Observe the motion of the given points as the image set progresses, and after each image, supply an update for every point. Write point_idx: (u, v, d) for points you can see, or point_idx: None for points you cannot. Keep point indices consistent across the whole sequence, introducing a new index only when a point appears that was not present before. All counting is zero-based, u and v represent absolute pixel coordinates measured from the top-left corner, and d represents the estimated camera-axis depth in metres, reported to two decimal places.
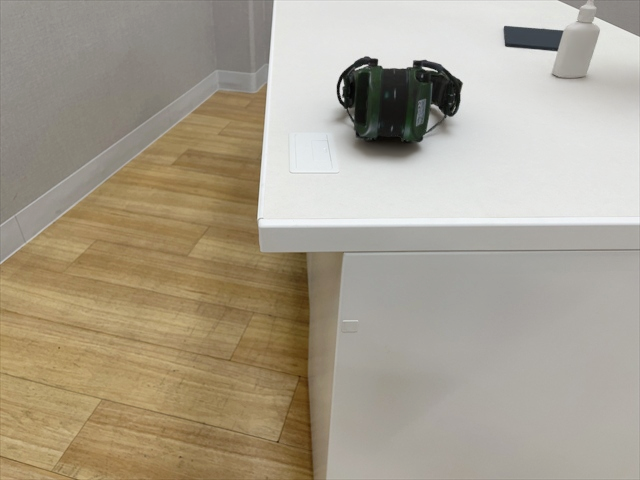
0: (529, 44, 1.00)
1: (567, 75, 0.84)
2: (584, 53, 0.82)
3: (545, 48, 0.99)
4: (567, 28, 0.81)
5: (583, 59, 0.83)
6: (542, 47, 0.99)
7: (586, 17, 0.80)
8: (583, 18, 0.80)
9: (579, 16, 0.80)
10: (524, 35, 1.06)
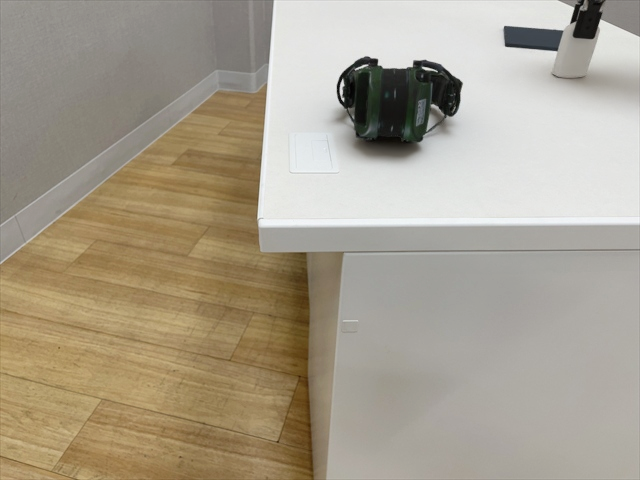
0: (529, 44, 1.00)
1: (567, 75, 0.84)
2: (584, 53, 0.82)
3: (545, 48, 0.99)
4: (567, 28, 0.81)
5: (583, 59, 0.83)
6: (542, 47, 0.99)
7: None
8: None
9: None
10: (524, 35, 1.06)
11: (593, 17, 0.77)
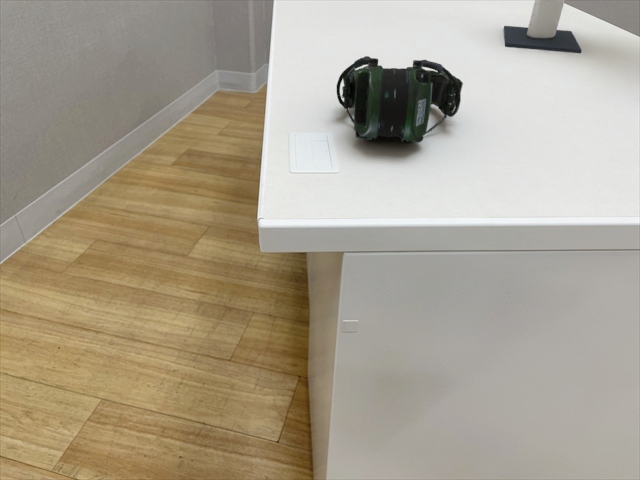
0: (529, 44, 1.00)
1: (539, 36, 1.03)
2: (552, 17, 1.02)
3: (545, 48, 0.99)
4: None
5: (552, 23, 1.02)
6: (542, 47, 0.99)
7: None
8: None
9: None
10: (524, 35, 1.06)
11: None
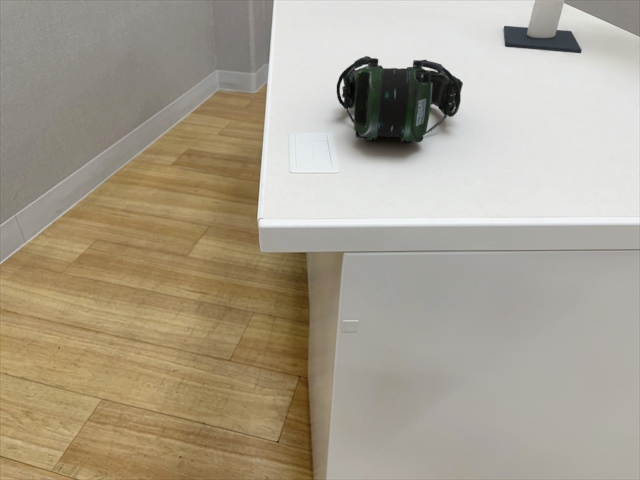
0: (529, 44, 1.00)
1: (539, 36, 1.03)
2: (552, 17, 1.02)
3: (545, 48, 0.99)
4: None
5: (552, 23, 1.02)
6: (542, 47, 0.99)
7: None
8: None
9: None
10: (524, 35, 1.06)
11: None
